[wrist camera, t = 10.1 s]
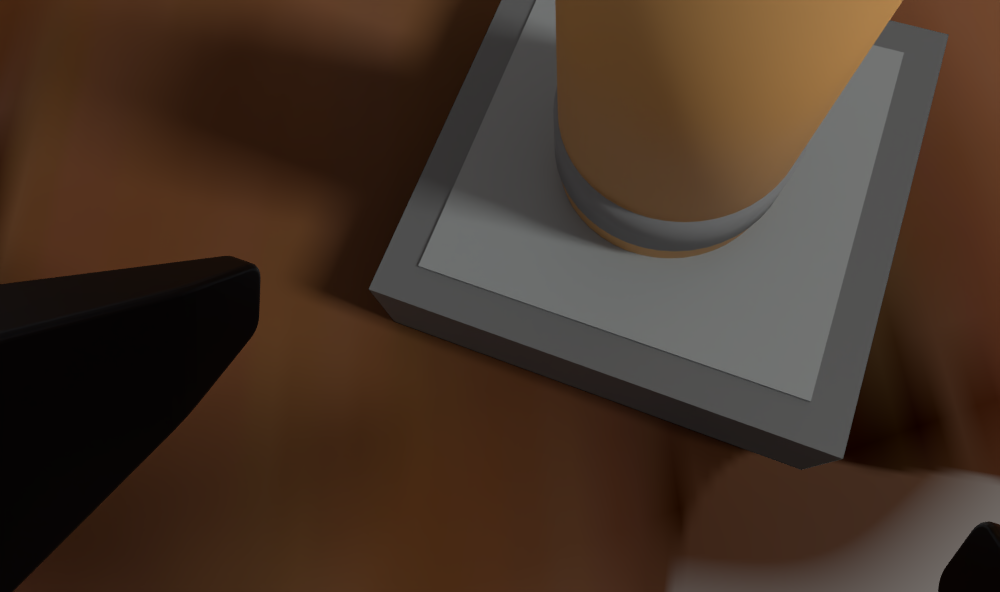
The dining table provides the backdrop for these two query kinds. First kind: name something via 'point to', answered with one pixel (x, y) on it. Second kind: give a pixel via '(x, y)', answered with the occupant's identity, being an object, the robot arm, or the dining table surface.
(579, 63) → the housing
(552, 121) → the stand
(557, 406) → the dining table surface
